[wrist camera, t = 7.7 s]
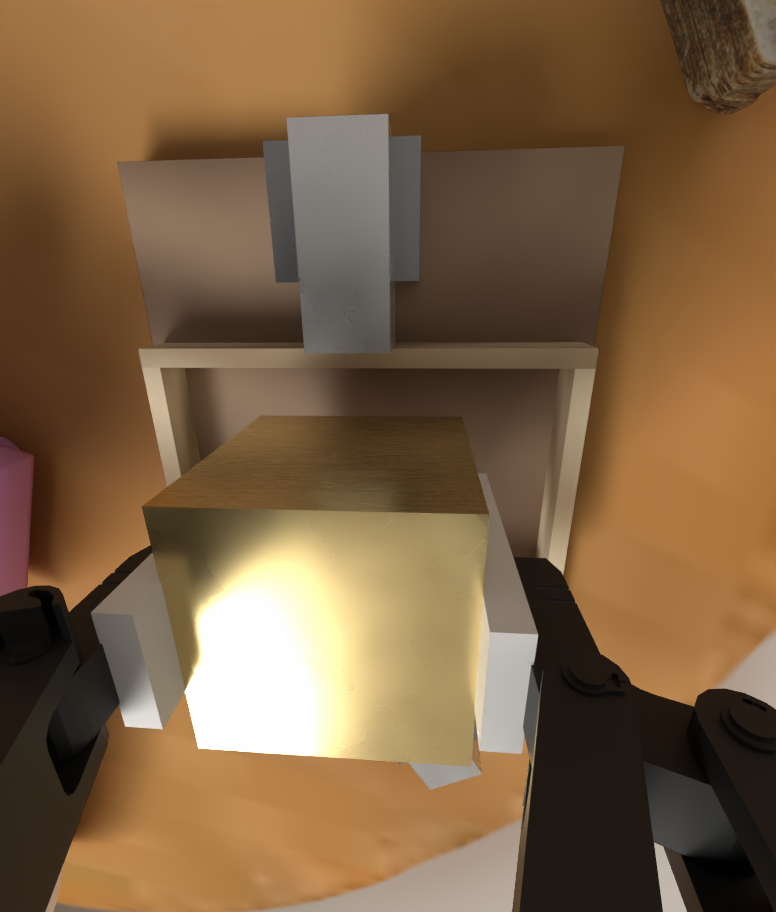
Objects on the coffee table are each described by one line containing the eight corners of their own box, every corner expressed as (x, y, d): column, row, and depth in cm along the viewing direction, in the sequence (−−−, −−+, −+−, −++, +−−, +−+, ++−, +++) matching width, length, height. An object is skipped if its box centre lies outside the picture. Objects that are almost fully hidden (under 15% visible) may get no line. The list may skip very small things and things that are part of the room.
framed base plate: (140, 171, 15) (82, 148, 12) (608, 156, 14) (650, 128, 11) (234, 688, 23) (211, 737, 21) (529, 704, 22) (543, 759, 19)
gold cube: (260, 415, 13) (141, 506, 8) (462, 416, 13) (489, 514, 7) (280, 582, 16) (198, 748, 10) (454, 588, 15) (471, 766, 9)
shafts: (300, 164, 13) (254, 119, 10) (512, 157, 13) (547, 108, 9) (337, 695, 21) (320, 781, 17) (470, 703, 21) (480, 793, 17)
